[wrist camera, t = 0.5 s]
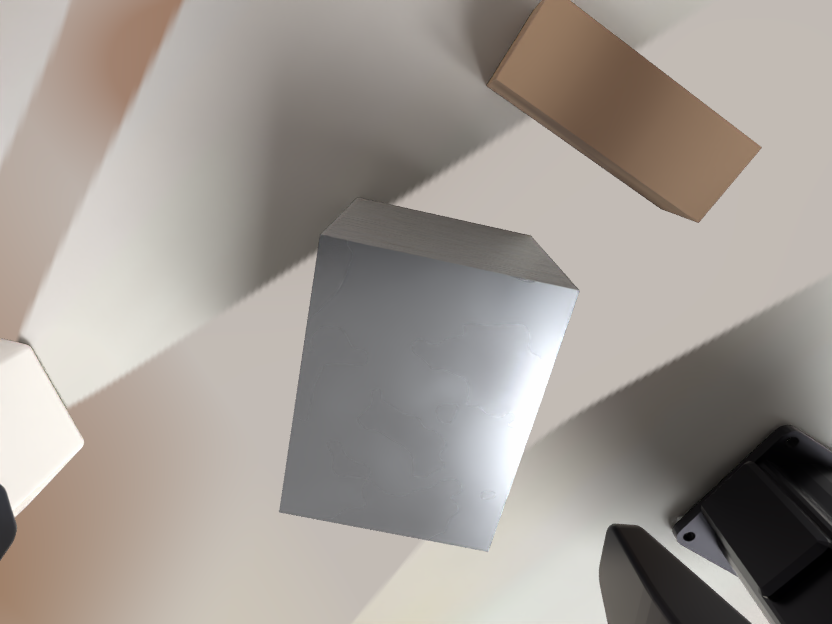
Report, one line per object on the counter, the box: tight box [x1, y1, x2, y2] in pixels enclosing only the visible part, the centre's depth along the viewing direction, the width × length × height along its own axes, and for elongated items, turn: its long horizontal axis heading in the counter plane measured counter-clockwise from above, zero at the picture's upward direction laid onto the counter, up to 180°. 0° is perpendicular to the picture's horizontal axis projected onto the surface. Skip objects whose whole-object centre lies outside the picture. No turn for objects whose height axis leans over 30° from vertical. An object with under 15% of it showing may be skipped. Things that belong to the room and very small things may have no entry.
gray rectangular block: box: [279, 197, 579, 552], centre depth 15 cm, size 6×8×6 cm
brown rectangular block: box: [487, 0, 761, 223], centre depth 14 cm, size 7×2×2 cm, turn 58°
